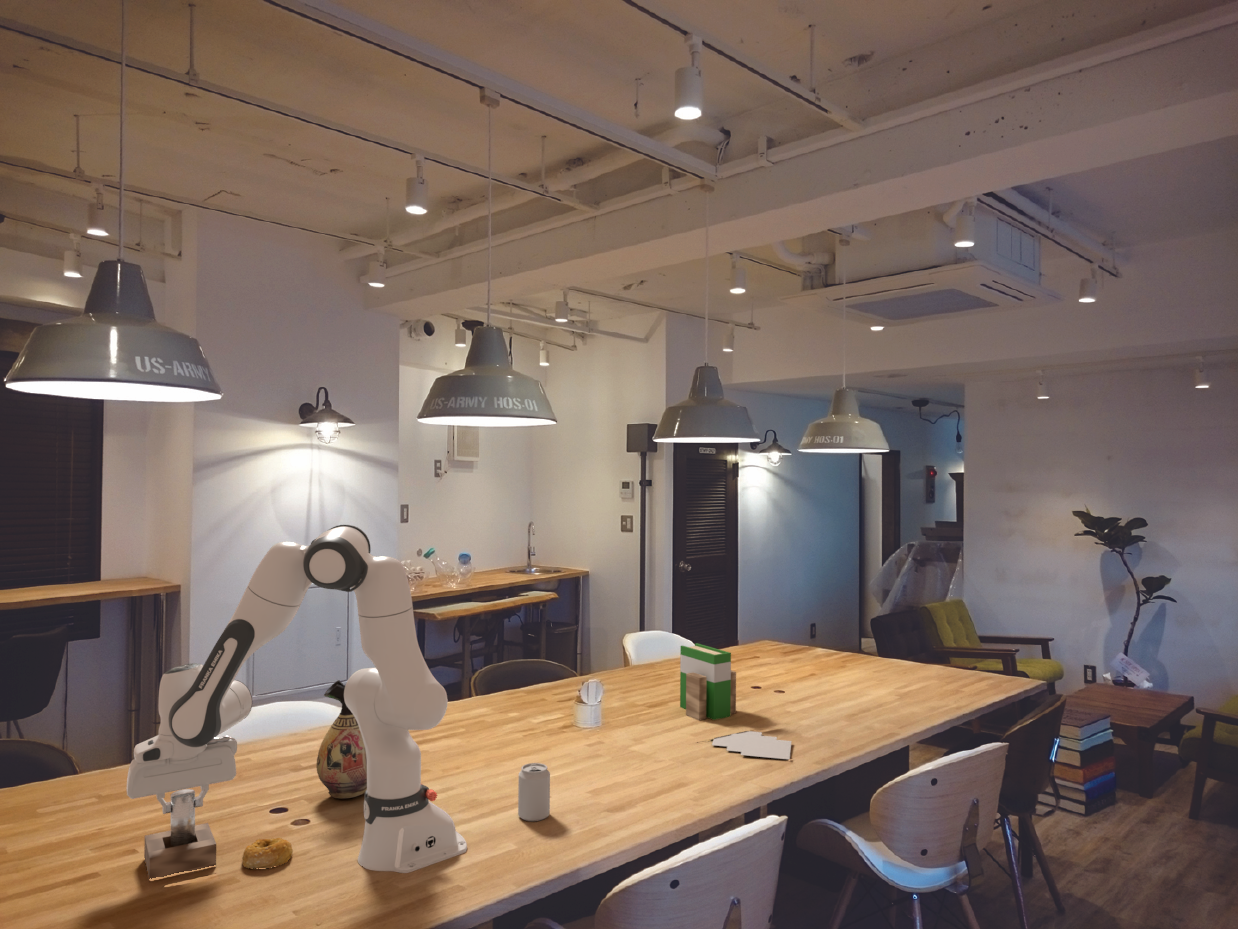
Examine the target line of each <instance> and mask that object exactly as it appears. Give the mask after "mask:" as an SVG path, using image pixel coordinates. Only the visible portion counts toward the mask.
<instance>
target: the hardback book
mask: <svg viewBox="0 0 1238 929" xmlns="http://www.w3.org/2000/svg"><path fill="white" fill-rule="evenodd" d="M679 664H680V665H679V666H680V669H679V670H680V671H679V673H680V676H679V677H680V678H679V679H680V682H679V683H680V685H679V708H682V709H683V710H686V673H692V672H694V673H697V674H700V675H703V676H706V677H707V681H706V719H707V718H708V719H710V720H712V721H715V720H720V719H725V718H729V717H731V714H730V711H731V670H732V652H729V651H727V650H726V651H725V650H722V649H718V648H715V647H712V646H708V645H705V644H701V643H698V642H697V643H694V645H693V646H686V645H680V663H679Z"/></svg>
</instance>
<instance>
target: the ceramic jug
mask: <svg viewBox="0 0 1238 929" xmlns="http://www.w3.org/2000/svg"><path fill="white" fill-rule="evenodd" d="M345 686H346V684H345V685H344V684H343V682H342V681H341V680H340V679H339V680H338V679H337V680H336V681H335V682H334V683H333V684H332V685H331V686H330V687H328V689H326V691H325V692H324V695H323V696H324V697H326V698H328V699H333V700H336V701H338V702H340V704H341V709H340V712H339V714H338V716H337V717H336V718H335V720H334V721H333V723H332V724H331V726H330V727H329V729H328V731H327V732H326V733H325V735H324V737H323V739H322V741H321V743H320V746H319V750H318V754H317V758H316V772H317V775H318V779H319V780H320V782H321V783H322V785H323V786H324V787H326V789H327V790H328V794H329V796H330V797H332V798H335V799H351V798H355V797H359V796H361V795H363V794H365V791H366V790H367V759H366V751H365V746H364V742H363V738H362V735H361V732H360V729H359V726H358V723H357V721H356V719H355V717H354V715H353V714H352V712H351V711H350V710H349V708H348V707H347V706H346V704H345V701H344V689H345Z"/></svg>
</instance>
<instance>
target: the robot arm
mask: <svg viewBox="0 0 1238 929" xmlns="http://www.w3.org/2000/svg"><path fill="white" fill-rule="evenodd" d="M371 549H372V548H371V543H370V539H369V537H368V535H367V534H366V532H364V531H363V530H362V528H359V527H358V526H355V525H352V524H340V525H335V526H332V527H331V528H329V529H327V530H326V531H324V532H322V533H321V534H319V535H318V536H317V537H316V538H315V539H313V540H312V541H311V542H310V545H303V544H300V543H297V542H293V541H280V542H277V543H275V544H274V545H272V546H271V547H270V548H269V549H268V551H267V552H266V554H265V555H264V556H263V558H262V559H261V561H260V562H259V564H258V565H257V567H256V568H255V570H254V572H253V573H252V576H251V578H250V580H249V582H248V584H247V586H246V588H245V591H244V592H243V595H242V596H241V599H240V601H239V602H238V605H237V607H236V608H235V610H234V612H233V614H232V616H231V617H230V620H229V621H228V623H227V624H226V626H225V628H224V630H223V631H222V633H221V635H220V636H219V638H218V639H217V641H216V643H215V645H214V646H213V648H212V649H211V652H210V653H209V654H208V656H207V659H206V660H205V662H204V664H201V663H195V662H193V663H187V664H184V665H179V666H176V667H173V668H170V669H168V670H167V671H165V673H163V674H162V676H161V678H160V682H159V688H158V689H159V690H158V706H157V707H158V715H159V717H160V724H159V726H158V734H157V735H155V736H154V737H151V738H149V739H147V740H144V741H142V742H140V743H138V744H136V745H135V747H134V748H133V759H132V760H131V762H130V764H129V766H128V767H129V768H128V771H127V772H128V773H127V778H126V796H128V797H129V799H132V800H134V799H138V798H139V799H140V798H145V797H149V796H154V795H155V796H156V799H157V801H158V802H159V804H160V805H161V806H162V807H161V808H162V814H163V815H165V814H171V801H166V800H165V799H164V798H165V797H166V793H171V792H172V793H173V792H176V791H179V790H184V789H193V788H196V787H200V790H201V791H200V793H199V795H198V796H195V809H196V808H200V807H203V806H204V798H205V797H206V795H207V793H208V792H209V789H210V788H209V787H210V785H212V784H217V783H224V782H229V781H233V780H234V778H236V776H237V765H236V758H235V755H236V753H237V751H238V741H237V740H236V738H235V737H232V736H229V735H224V736H220V737H218V736H219V735H221V734H223V733H224V732H226V731H228V730H230V729H231V728H232V727H234V726H235V725H237V724H239V723H241V722H242V721H243V720H244V719H246V718H247V717H248V716H249V715H250V713H251V711H252V709H253V696H252V693H251V691H250V689H249V688H248V686H247V685H246V684H245V683H244V682H242V681H240V680H238V679H236V677H237V676H238V674H239V672H240V670H241V668H242V667H243V665H244V664H245V662H246V661H248V659H249V658H250V657H251V656H252V655H253V654H254V653H255V652H257V651H258V650H260V648H262V647H263V646H264V645H266V644H268V643H269V642H271V641H272V640H273V639H275V638H276V637H278V636H279V635H281V634H282V633H284V631H285V630H286V629H287V628H288V626H289V625H290V624H291V622H292V621H293V620H294V618H295V616H296V615H297V613H298V611H299V609H300V607H301V605H302V603H303V600H304V598H305V596H306V594H307V592H308V590H309V588H310V587H311V585H312V584H313V585H314V586H317V587H319V588H322V589H327V590H334V591H340V592H341V591H342V592H347V593H352V592H354V594H355V597H356V598H355V599H356V605H357V606H356V607H357V614H358V616H357V617H358V625H359V633H360V643H361V648H362V650H363V653H364V654H365V656H366V657H367V658H368V659H369V660H370V661H371V662H372V664H373V665H374V667H368V668H367V667H366V668H360V669H359V670H356V671H354V673H352V674H351V675H350V677H349V678H348V679H347V681H346V684H345V689H344V701H345V704H346V706H347V707H348V708H349V710H350V711H351V712H352V714H353V715H354V717H355V719H356V721H357V723H358V726H359V729H360V732H361V735H362V738H363V742H364V746H365V751H366V759H367V790H366V791H365V793H364V800H363V816H364V817H363V818H364V820H365V821H364V830H363V836H362V842H361V847H360V849H359V854H358V856H357V862H358V864H359V865H360V866H361V867H362V866H363V867H362V868H364V869H366V870H370V871H376V872H397V873H399V874H408V873H412V872H414V871H418V870H421V869H423V868H425V867H428V866H432V865H434V864H436V863H440V862H442V861H445V860H449V859H451V858H454V857H456V856H459V855H462V854H465V853H466V852H467V850H468V844H467V841H466V839H465V838H464V836H462V834H460V833H459V832H458V831H457V829H456V825H455V821H454V819H453V818H452V817H451V815H449V813H448V812H446V811H445V810H444V809H443V808H441V807H439V806H437V805H436V804H434V803H433V802H434V801H436V800H437V798H438V794H437V792H436V791H435V790H434V789H432V788H429V786H427V785H425V784H423V783H422V782H421V781H422V752H421V749H420V747H419V745H418V743H417V742H416V741H415V740H414V738H413V737H412V735H411V734H410V731H424V730H431V729H434V728H435V727H437V726H438V725H439V724H440V723H441V722H442V720H443V719H444V717H445V715H446V712H447V709H448V704H449V703H448V701H449V700H448V695H447V694H448V693H447V691H446V689H445V688H444V686H443V685H442V684H440V682H439V681H438V680H437V679H436V677H434V675H433V674H432V672H431V670H430V668H429V667H428V665H427V662H426V661H425V659H424V656H423V653H422V651H421V649H420V646H419V642H418V637H417V632H416V625H415V624H416V623H415V616H414V606H413V598H412V592H411V588H410V583H409V579H408V577H407V576H408V575H407V572H406V570H405V566H404V564H403V562H401V561H400V560H399V559H398V558H395V557H392V556H387V555H386V556H384V555H383V556H382V555H381V556H375V555H373V554H371V551H372V550H371Z"/></svg>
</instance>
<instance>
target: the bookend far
mask: <svg viewBox="0 0 1238 929" xmlns="http://www.w3.org/2000/svg"><path fill="white" fill-rule="evenodd" d="M736 711H737V671H734V670H732V669H731V711H730V715H733V714H736Z"/></svg>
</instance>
